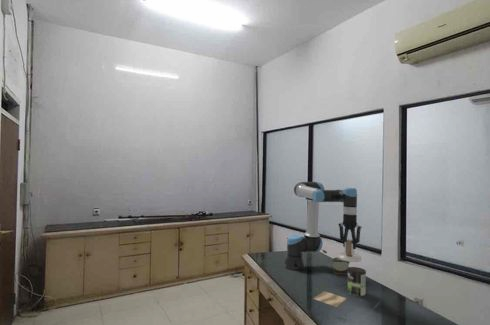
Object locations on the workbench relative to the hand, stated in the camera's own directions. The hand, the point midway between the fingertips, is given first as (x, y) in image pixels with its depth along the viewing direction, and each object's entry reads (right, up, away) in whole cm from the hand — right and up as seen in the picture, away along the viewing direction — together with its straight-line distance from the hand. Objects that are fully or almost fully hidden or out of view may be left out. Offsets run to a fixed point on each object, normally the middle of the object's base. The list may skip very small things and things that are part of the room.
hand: (349, 253), depth 167 cm
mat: (-14, -24, -7) cm, 28 cm away
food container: (+7, -26, +37) cm, 45 cm away
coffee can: (+5, -25, +2) cm, 25 cm away
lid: (0, -3, 0) cm, 3 cm away
